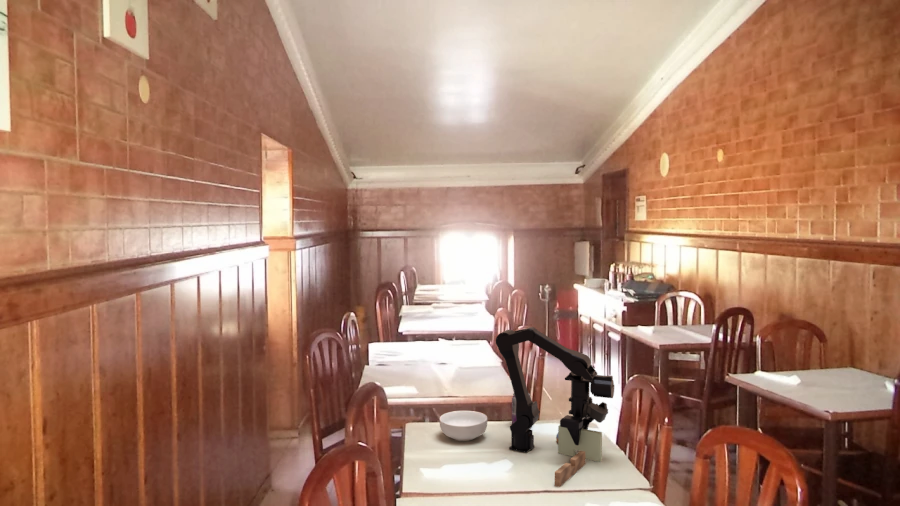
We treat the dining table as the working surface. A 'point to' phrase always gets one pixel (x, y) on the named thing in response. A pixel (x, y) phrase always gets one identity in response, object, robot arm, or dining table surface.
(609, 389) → the robot arm
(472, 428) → the cereal bowl
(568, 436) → the upright grey panel
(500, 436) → the dining table surface
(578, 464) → the notched wooden bar
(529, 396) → the beverage can
